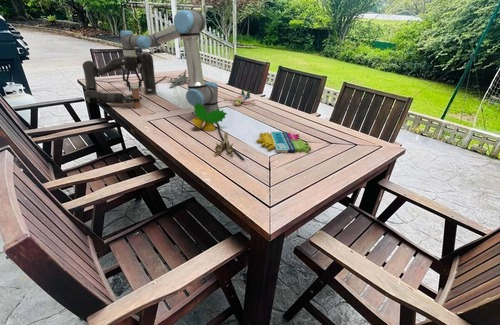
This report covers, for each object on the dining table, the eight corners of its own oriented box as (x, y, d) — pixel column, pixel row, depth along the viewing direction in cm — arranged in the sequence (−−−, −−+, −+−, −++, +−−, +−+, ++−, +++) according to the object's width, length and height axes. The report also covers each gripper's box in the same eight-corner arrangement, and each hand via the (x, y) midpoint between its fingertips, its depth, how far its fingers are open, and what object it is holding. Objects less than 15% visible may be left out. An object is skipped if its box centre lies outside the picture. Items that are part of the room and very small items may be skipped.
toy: (261, 91, 228) (254, 99, 202) (261, 99, 231) (253, 108, 205) (231, 87, 233) (220, 95, 207) (230, 95, 236) (219, 104, 210)
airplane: (160, 80, 270) (159, 70, 265) (190, 78, 283) (189, 68, 278) (168, 89, 242) (167, 78, 236) (201, 87, 255) (201, 77, 250)
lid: (135, 86, 188) (135, 83, 187) (140, 87, 185) (140, 85, 184) (128, 87, 184) (128, 84, 183) (133, 89, 181) (133, 86, 180)
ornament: (218, 133, 171) (224, 110, 169) (221, 134, 163) (227, 111, 161) (186, 125, 162) (192, 101, 160) (189, 126, 155) (195, 101, 153)
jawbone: (234, 135, 144) (233, 125, 135) (233, 160, 138) (232, 151, 129) (217, 135, 144) (216, 125, 135) (216, 160, 138) (214, 150, 129)
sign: (313, 150, 142) (258, 149, 139) (312, 153, 143) (258, 152, 140) (301, 132, 164) (254, 130, 161) (301, 134, 165) (254, 133, 162)
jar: (142, 107, 192) (139, 86, 184) (135, 108, 188) (132, 87, 181) (139, 105, 194) (136, 84, 187) (133, 107, 191) (129, 85, 184)
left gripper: (110, 95, 179) (136, 96, 181) (118, 90, 191) (142, 91, 193) (113, 106, 183) (138, 107, 184) (120, 100, 195) (143, 101, 197)
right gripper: (145, 55, 180) (149, 89, 192) (114, 55, 174) (121, 90, 186) (145, 57, 174) (149, 92, 186) (113, 57, 168) (120, 92, 180)
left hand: (140, 99), depth 189 cm, fingers closed on jar, 5 cm apart
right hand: (135, 91), depth 186 cm, fingers open, 6 cm apart
